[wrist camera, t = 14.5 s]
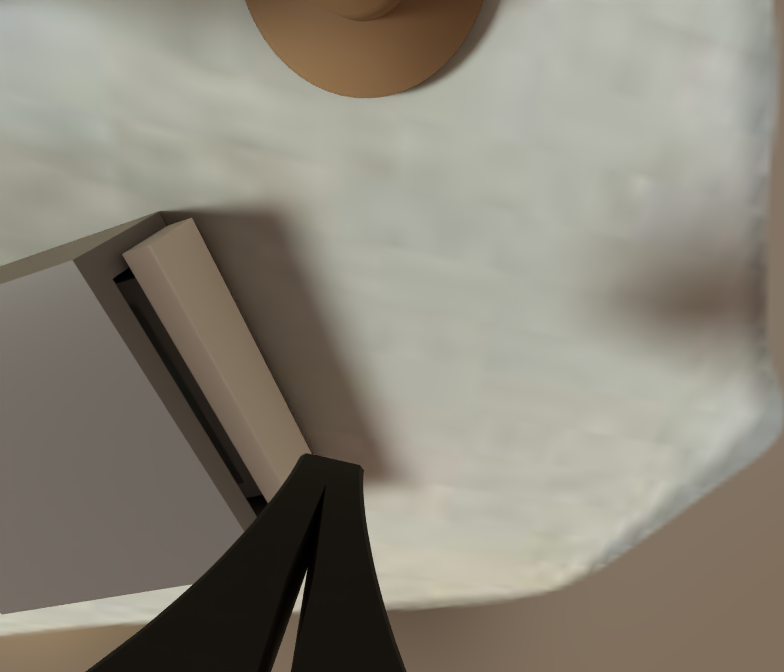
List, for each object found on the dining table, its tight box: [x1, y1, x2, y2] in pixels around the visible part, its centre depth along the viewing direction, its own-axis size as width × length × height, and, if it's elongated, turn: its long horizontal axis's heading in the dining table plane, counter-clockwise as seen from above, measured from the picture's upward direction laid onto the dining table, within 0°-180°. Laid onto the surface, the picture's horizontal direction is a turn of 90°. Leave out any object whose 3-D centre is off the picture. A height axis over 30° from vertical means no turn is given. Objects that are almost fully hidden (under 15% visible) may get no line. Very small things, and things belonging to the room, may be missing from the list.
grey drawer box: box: [0, 212, 268, 614], centre depth 21 cm, size 13×13×5 cm
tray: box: [113, 218, 311, 503], centre depth 21 cm, size 12×12×3 cm
